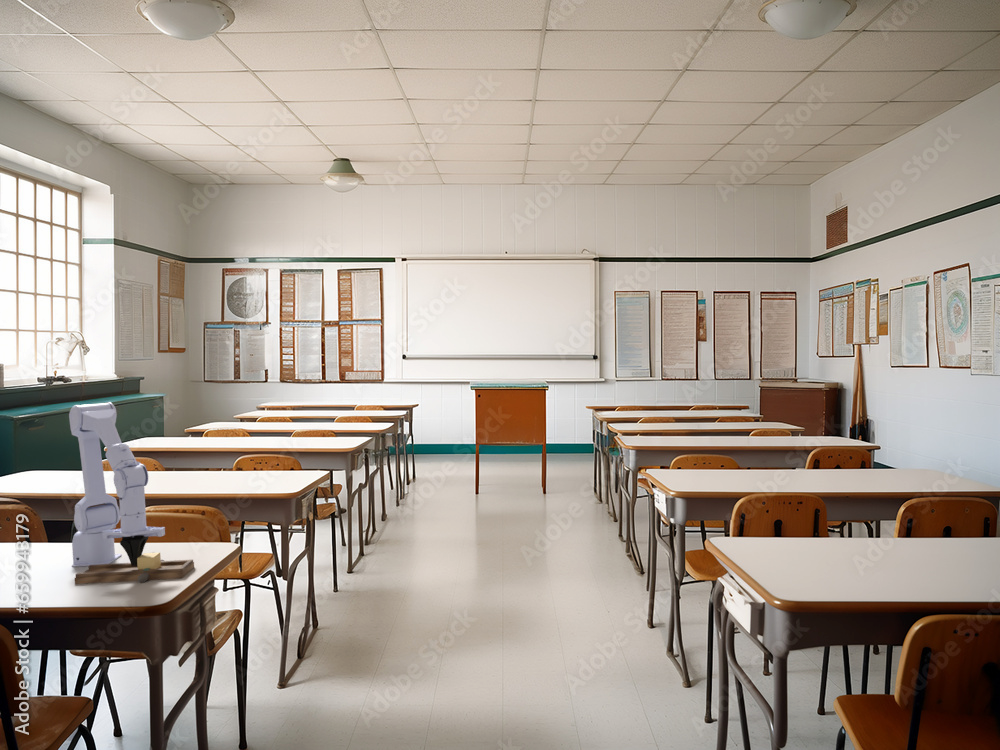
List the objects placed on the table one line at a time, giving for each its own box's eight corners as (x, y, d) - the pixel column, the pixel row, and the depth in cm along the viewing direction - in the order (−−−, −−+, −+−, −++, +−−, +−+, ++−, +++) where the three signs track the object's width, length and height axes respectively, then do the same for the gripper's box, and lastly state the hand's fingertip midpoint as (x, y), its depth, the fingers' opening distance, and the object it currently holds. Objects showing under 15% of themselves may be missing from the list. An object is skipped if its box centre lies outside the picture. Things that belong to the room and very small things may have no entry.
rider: (137, 571, 167) (137, 558, 167) (145, 566, 171) (144, 553, 171) (154, 570, 167) (153, 557, 167) (160, 565, 171) (160, 552, 171)
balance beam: (70, 586, 162) (70, 576, 162) (95, 570, 174) (95, 561, 173) (179, 580, 164) (178, 570, 164) (196, 565, 176) (196, 555, 176)
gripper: (95, 518, 163) (98, 571, 164) (155, 515, 165) (158, 568, 165) (109, 511, 170) (112, 562, 171) (167, 508, 172) (170, 559, 172)
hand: (135, 564), depth 169 cm, fingers closed
